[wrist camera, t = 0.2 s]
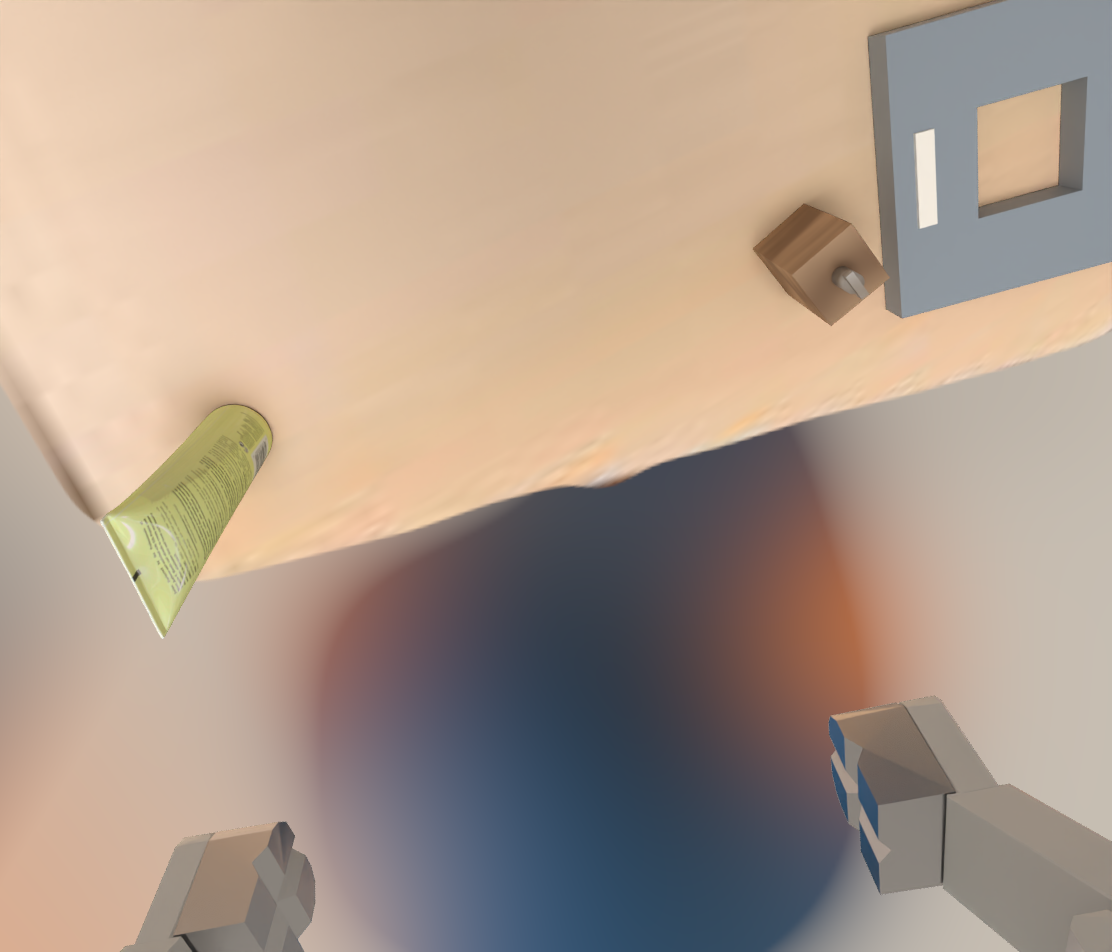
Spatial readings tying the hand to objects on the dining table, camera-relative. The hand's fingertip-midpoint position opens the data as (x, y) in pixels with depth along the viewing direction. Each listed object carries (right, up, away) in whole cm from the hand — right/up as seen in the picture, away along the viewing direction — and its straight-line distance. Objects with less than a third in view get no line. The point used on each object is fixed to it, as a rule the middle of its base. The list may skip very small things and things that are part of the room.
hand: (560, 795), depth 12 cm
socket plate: (+30, +27, +43) cm, 59 cm away
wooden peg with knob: (+17, +20, +45) cm, 52 cm away
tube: (-23, +8, +47) cm, 53 cm away
